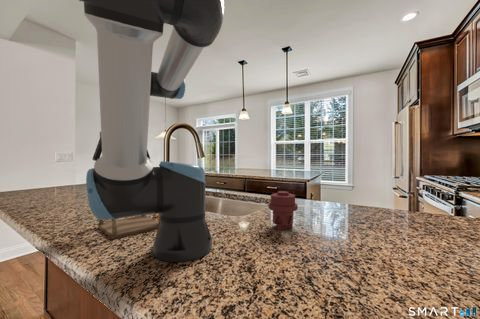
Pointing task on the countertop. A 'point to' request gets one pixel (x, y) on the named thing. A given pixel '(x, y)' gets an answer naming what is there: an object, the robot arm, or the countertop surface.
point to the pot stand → (128, 226)
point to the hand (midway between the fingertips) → (123, 181)
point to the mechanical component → (283, 209)
